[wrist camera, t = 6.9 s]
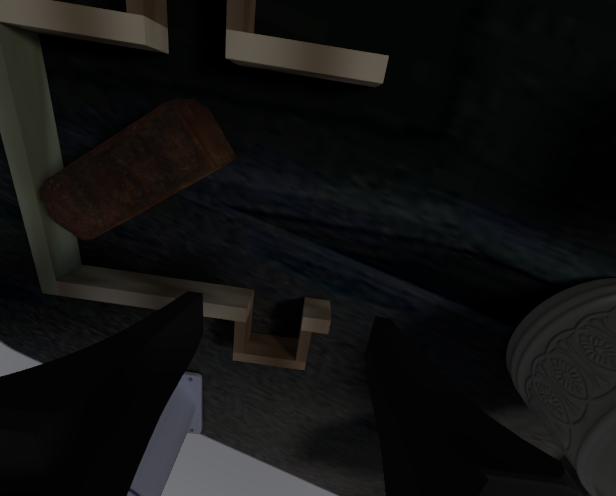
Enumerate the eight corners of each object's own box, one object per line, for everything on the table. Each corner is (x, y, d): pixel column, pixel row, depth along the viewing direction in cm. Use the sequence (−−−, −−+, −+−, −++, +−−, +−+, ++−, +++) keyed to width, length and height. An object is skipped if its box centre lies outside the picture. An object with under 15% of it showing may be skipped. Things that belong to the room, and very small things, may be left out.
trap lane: (77, 314, 25) (53, 334, 23) (-9, -92, 15) (-68, -128, 13) (319, 349, 26) (319, 372, 24) (397, -22, 16) (410, -45, 13)
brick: (205, 97, 18) (169, 93, 14) (240, 158, 20) (217, 170, 15) (79, 176, 21) (16, 193, 16) (118, 225, 22) (69, 252, 18)
